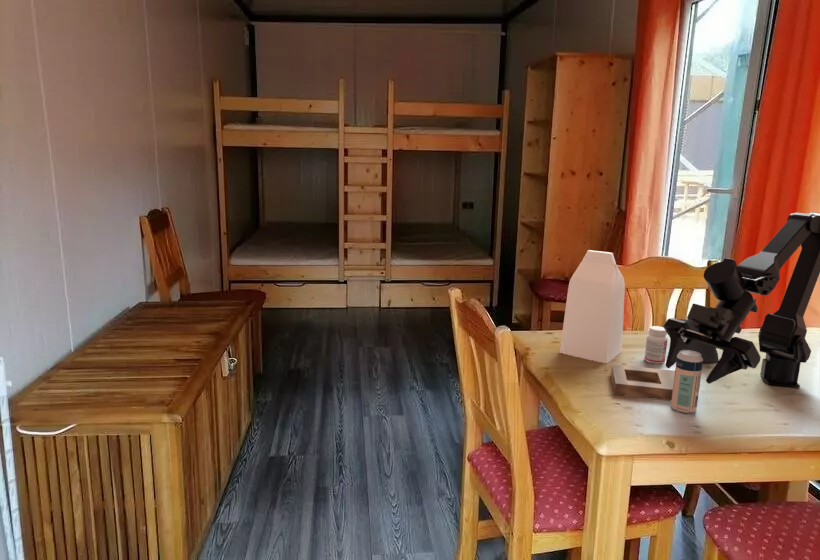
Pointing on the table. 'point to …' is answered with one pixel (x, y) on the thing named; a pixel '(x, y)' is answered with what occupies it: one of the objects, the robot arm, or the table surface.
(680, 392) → the beer can
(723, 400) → the table surface
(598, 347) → the milk
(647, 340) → the pill bottle
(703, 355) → the mug
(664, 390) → the socket board
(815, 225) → the robot arm
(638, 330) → the table surface
